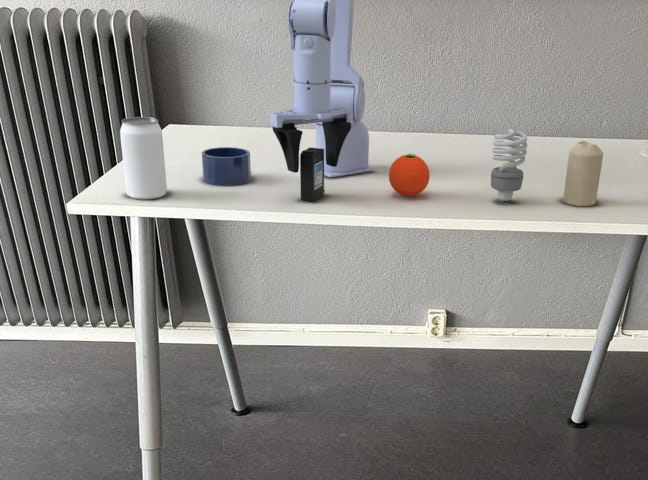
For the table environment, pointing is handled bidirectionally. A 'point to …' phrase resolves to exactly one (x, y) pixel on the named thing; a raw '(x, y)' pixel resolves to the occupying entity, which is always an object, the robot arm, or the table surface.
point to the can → (143, 158)
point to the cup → (226, 166)
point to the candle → (583, 174)
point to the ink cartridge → (312, 174)
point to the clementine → (409, 175)
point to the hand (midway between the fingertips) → (312, 168)
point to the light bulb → (508, 164)
